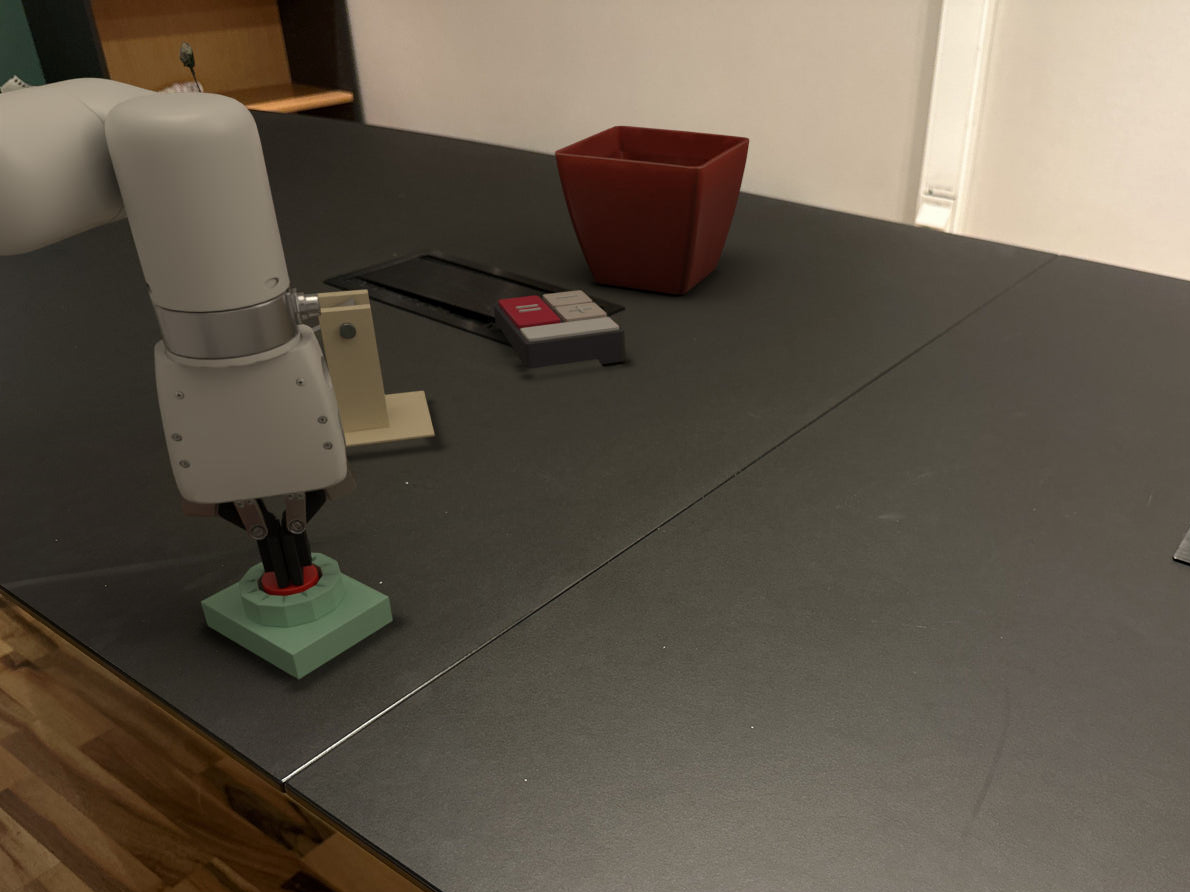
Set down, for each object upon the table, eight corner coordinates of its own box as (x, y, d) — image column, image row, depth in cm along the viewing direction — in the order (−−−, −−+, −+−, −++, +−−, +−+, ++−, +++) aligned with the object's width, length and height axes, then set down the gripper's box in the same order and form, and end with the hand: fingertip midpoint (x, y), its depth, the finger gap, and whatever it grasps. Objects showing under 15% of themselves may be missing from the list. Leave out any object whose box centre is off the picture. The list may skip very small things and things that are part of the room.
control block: (207, 626, 74) (193, 580, 72) (303, 574, 79) (292, 530, 77) (298, 680, 69) (286, 632, 67) (393, 621, 75) (385, 575, 73)
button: (255, 599, 73) (250, 578, 72) (299, 575, 75) (294, 555, 74) (288, 617, 71) (283, 596, 70) (332, 592, 73) (328, 572, 73)
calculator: (583, 286, 124) (625, 323, 113) (586, 321, 127) (626, 361, 115) (491, 297, 121) (524, 336, 109) (495, 333, 123) (528, 376, 111)
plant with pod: (207, 180, 175) (176, 49, 164) (198, 165, 183) (168, 39, 172) (259, 175, 178) (232, 46, 167) (247, 161, 186) (221, 37, 175)
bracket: (299, 462, 94) (269, 327, 87) (298, 415, 102) (271, 287, 95) (436, 445, 98) (418, 313, 91) (425, 401, 105) (407, 276, 99)
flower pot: (620, 247, 150) (616, 122, 141) (747, 264, 145) (752, 136, 135) (559, 288, 134) (550, 151, 125) (698, 309, 129) (700, 168, 120)
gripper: (357, 289, 67) (399, 531, 77) (98, 311, 63) (177, 564, 73) (364, 330, 61) (408, 587, 71) (77, 358, 57) (167, 627, 67)
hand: (291, 575), depth 72 cm, fingers closed
